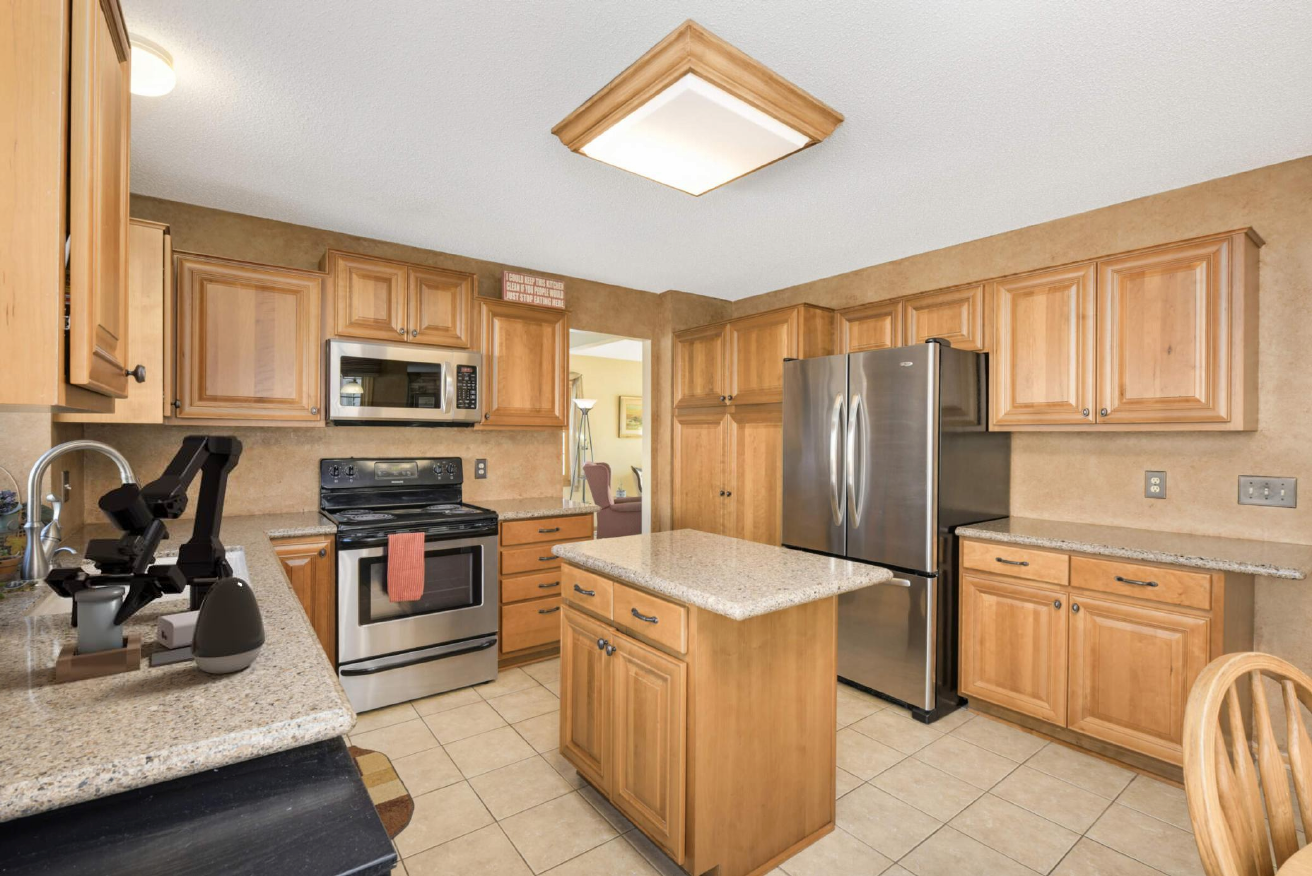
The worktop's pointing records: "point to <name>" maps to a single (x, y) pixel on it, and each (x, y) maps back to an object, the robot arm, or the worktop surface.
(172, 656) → the rubber mat
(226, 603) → the dark egg-shaped device
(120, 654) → the block
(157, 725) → the worktop surface
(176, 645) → the charger
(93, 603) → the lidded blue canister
